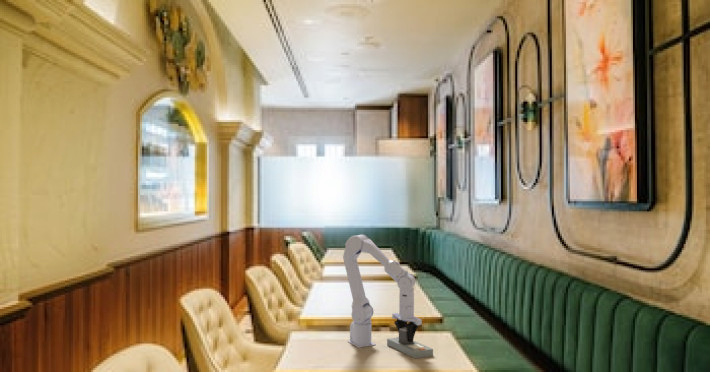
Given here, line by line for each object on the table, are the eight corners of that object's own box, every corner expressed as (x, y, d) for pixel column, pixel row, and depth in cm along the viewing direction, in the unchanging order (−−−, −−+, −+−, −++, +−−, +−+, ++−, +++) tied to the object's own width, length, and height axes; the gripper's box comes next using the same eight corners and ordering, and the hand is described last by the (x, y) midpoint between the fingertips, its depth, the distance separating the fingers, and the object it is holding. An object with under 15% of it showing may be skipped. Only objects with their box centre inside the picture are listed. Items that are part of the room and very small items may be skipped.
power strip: (387, 345, 213) (387, 337, 213) (403, 342, 217) (403, 335, 217) (415, 358, 195) (415, 350, 196) (433, 355, 199) (433, 347, 199)
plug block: (398, 343, 208) (398, 328, 208) (406, 342, 211) (406, 327, 211) (405, 346, 205) (405, 330, 205) (413, 344, 207) (413, 329, 208)
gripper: (386, 303, 211) (386, 337, 211) (412, 309, 200) (412, 346, 200) (399, 301, 216) (399, 335, 216) (425, 307, 204) (425, 342, 204)
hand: (406, 340), depth 208 cm, fingers closed on plug block, 4 cm apart
